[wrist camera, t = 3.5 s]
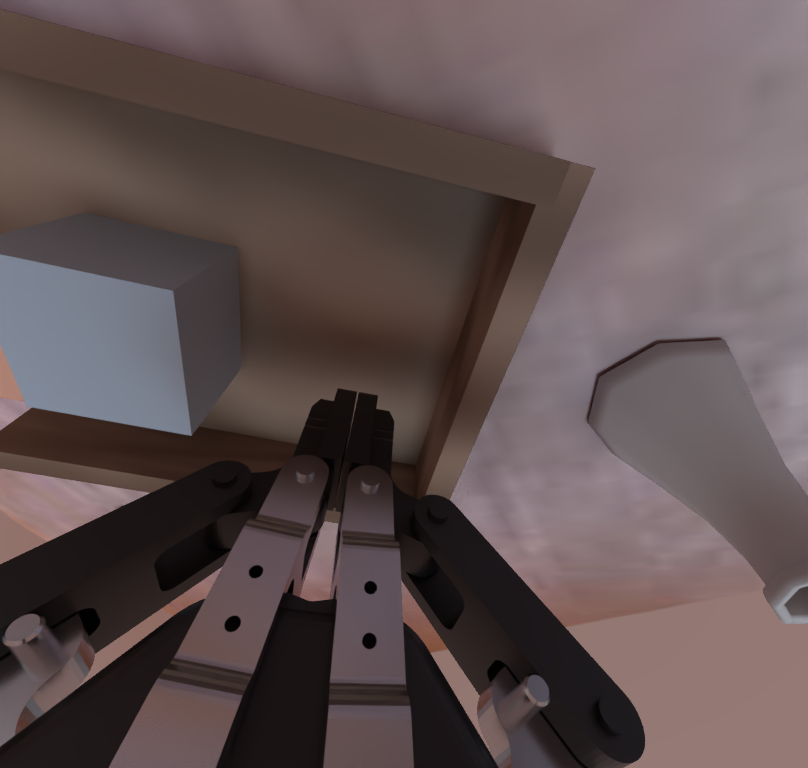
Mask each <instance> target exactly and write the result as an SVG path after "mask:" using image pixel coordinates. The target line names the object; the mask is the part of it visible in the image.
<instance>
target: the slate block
mask: <svg viewBox="0 0 808 768" xmlns="http://www.w3.org/2000/svg"><path fill="white" fill-rule="evenodd" d="M0 345H1V348H2V350H3V352H4V355H5V357H6V359H7V362H8V364H9V366H10V369H11V371H12V373H13V375H14V378H15V380H16V382H17V385H18V387H19V389H20V392H21V394H22V396H23V399H24V401H25V403H26V406H27V407H32V408H38V409H44V410H49V411H55V412H61V413H66V414H72V415H77V416H83V417H89V418H94V419H100V420H105V421H111V422H117V423H122V424H128V425H134V426H139V427H145V428H150V429H156V430H162V431H167V432H173V433H178V434H184V435H190V436H192V435H193V433H194V432H195V431H196V429H197V428H198V427H199V425H200V424H201V423H202V421H203V420H204V418H205V417H206V416H207V414H208V413H209V412H210V410H211V409H212V408H213V406H214V405H215V403H216V402H217V401H218V399H219V398H220V397H221V395H222V394H223V393H224V391H225V390H226V388H227V387H228V386H229V384H230V383H231V382H232V380H233V379H234V378H235V376H236V375H237V374H238V372H239V371H240V369H241V335H240V297H239V259H238V247H235V246H230V245H226V244H221V243H217V242H213V241H208V240H204V239H199V238H195V237H190V236H186V235H182V234H177V233H173V232H168V231H164V230H159V229H155V228H151V227H146V226H142V225H137V224H133V223H128V222H124V221H119V220H115V219H111V218H106V217H102V216H97V215H93V214H88V213H80V214H76V215H72V216H69V217H65V218H61V219H57V220H53V221H49V222H45V223H41V224H38V225H34V226H30V227H26V228H22V229H18V230H14V231H10V232H6V233H3V234H0Z"/></svg>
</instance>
